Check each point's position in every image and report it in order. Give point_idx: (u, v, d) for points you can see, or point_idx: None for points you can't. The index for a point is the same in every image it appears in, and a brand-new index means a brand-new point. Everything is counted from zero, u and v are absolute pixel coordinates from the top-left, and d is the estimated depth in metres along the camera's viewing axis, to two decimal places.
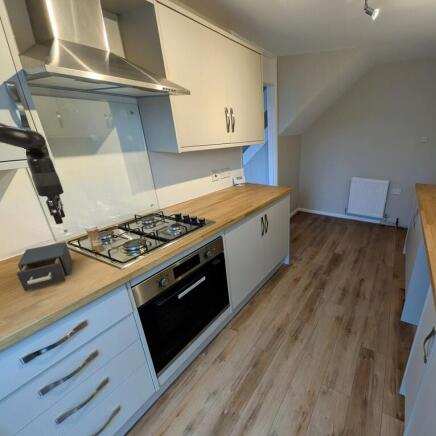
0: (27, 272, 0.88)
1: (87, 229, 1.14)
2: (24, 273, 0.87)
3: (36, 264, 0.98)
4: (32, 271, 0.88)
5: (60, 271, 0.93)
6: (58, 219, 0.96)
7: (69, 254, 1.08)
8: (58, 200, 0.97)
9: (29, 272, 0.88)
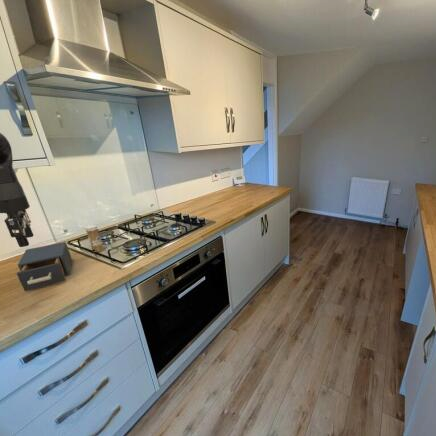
0: (27, 272, 0.88)
1: (87, 229, 1.14)
2: (24, 273, 0.87)
3: (36, 264, 0.98)
4: (32, 271, 0.88)
5: (60, 271, 0.93)
6: (22, 241, 0.77)
7: (69, 254, 1.08)
8: (22, 217, 0.78)
9: (29, 272, 0.88)
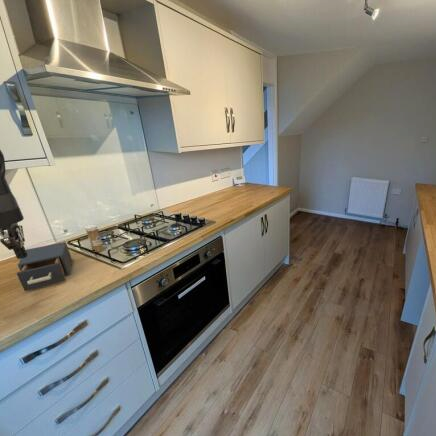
0: (27, 272, 0.88)
1: (87, 229, 1.14)
2: (24, 273, 0.87)
3: (36, 264, 0.98)
4: (32, 271, 0.88)
5: (60, 271, 0.93)
6: (20, 253, 0.77)
7: (69, 254, 1.08)
8: (16, 230, 0.75)
9: (29, 272, 0.88)
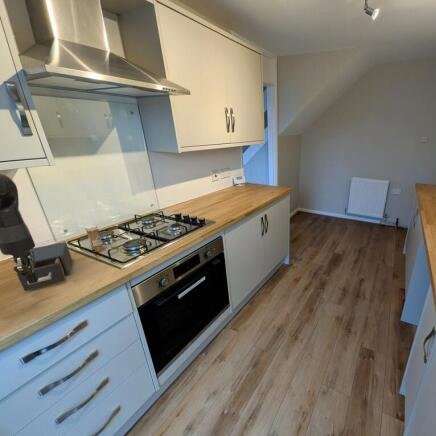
0: None
1: (87, 229, 1.14)
2: None
3: (36, 264, 0.98)
4: None
5: (60, 271, 0.93)
6: (31, 278, 0.81)
7: (69, 254, 1.08)
8: (28, 257, 0.78)
9: None
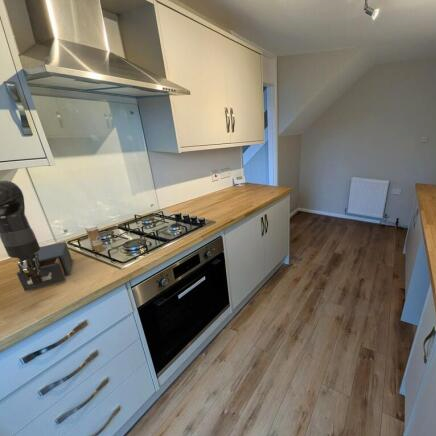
0: None
1: (87, 229, 1.14)
2: None
3: None
4: None
5: (60, 271, 0.93)
6: (36, 280, 0.85)
7: (69, 254, 1.08)
8: (33, 259, 0.82)
9: None
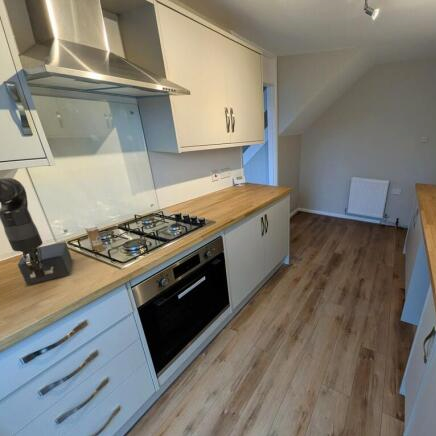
0: None
1: (87, 229, 1.14)
2: None
3: None
4: None
5: (61, 265, 0.97)
6: (39, 273, 0.88)
7: (69, 254, 1.08)
8: (36, 253, 0.86)
9: None
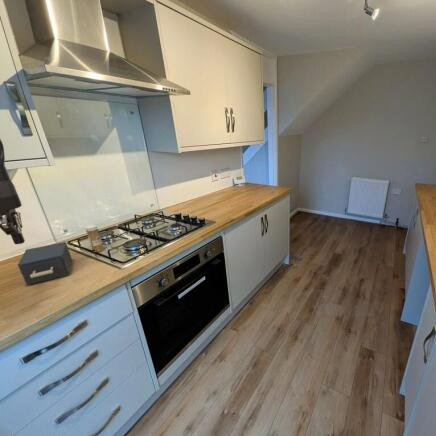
0: (30, 266, 0.91)
1: (87, 229, 1.14)
2: (27, 267, 0.91)
3: None
4: (35, 265, 0.92)
5: (61, 265, 0.97)
6: (17, 238, 0.80)
7: (69, 254, 1.08)
8: (14, 216, 0.77)
9: (32, 266, 0.92)
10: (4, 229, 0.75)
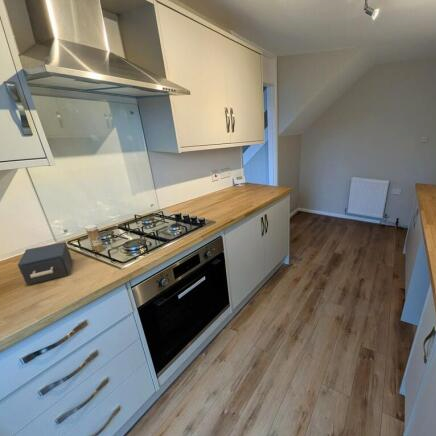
0: (30, 266, 0.91)
1: (87, 229, 1.14)
2: (27, 267, 0.91)
3: None
4: (35, 265, 0.92)
5: (61, 265, 0.97)
6: None
7: (69, 254, 1.08)
8: None
9: (32, 266, 0.92)
10: None
